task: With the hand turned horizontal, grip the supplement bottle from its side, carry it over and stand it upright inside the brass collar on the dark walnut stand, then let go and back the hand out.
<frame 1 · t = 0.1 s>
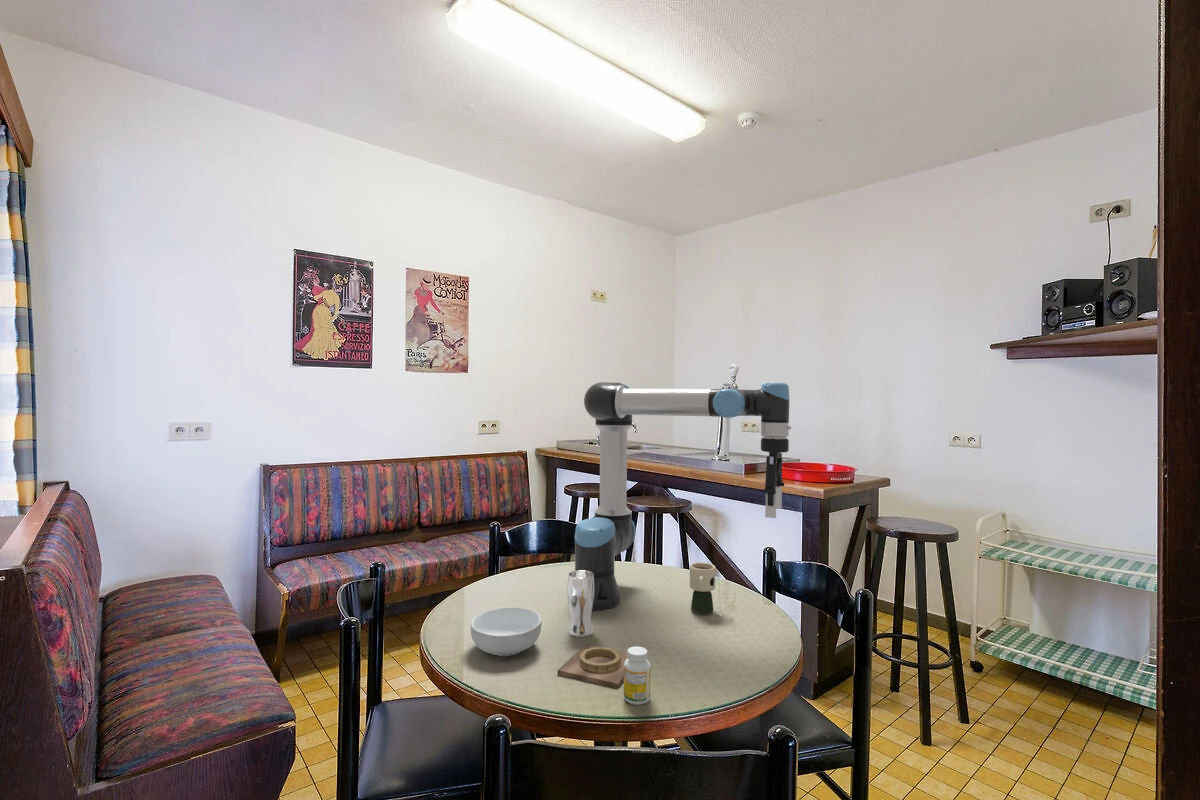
hand: (773, 513, 161), 28 cm above the table, tool pointing down, fingers open, 13 cm apart
collar stand: (600, 667, 127), on the table
silver metal tumbler: (580, 633, 146), on the table
supplement bottle: (636, 699, 114), on the table
cereal bowl: (506, 650, 136), on the table
character mug: (702, 612, 161), on the table
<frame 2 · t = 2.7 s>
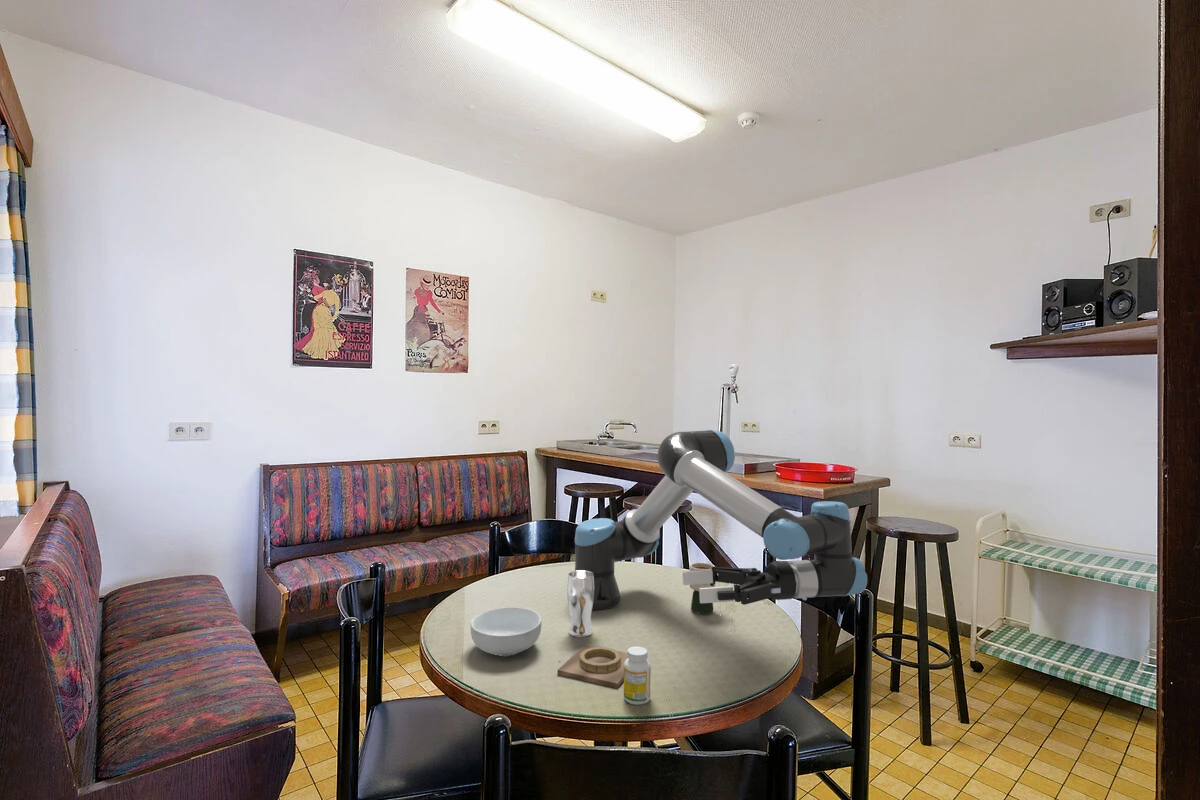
hand: (690, 586, 118), 21 cm above the table, tool horizontal, fingers open, 13 cm apart
nothing on the table moved.
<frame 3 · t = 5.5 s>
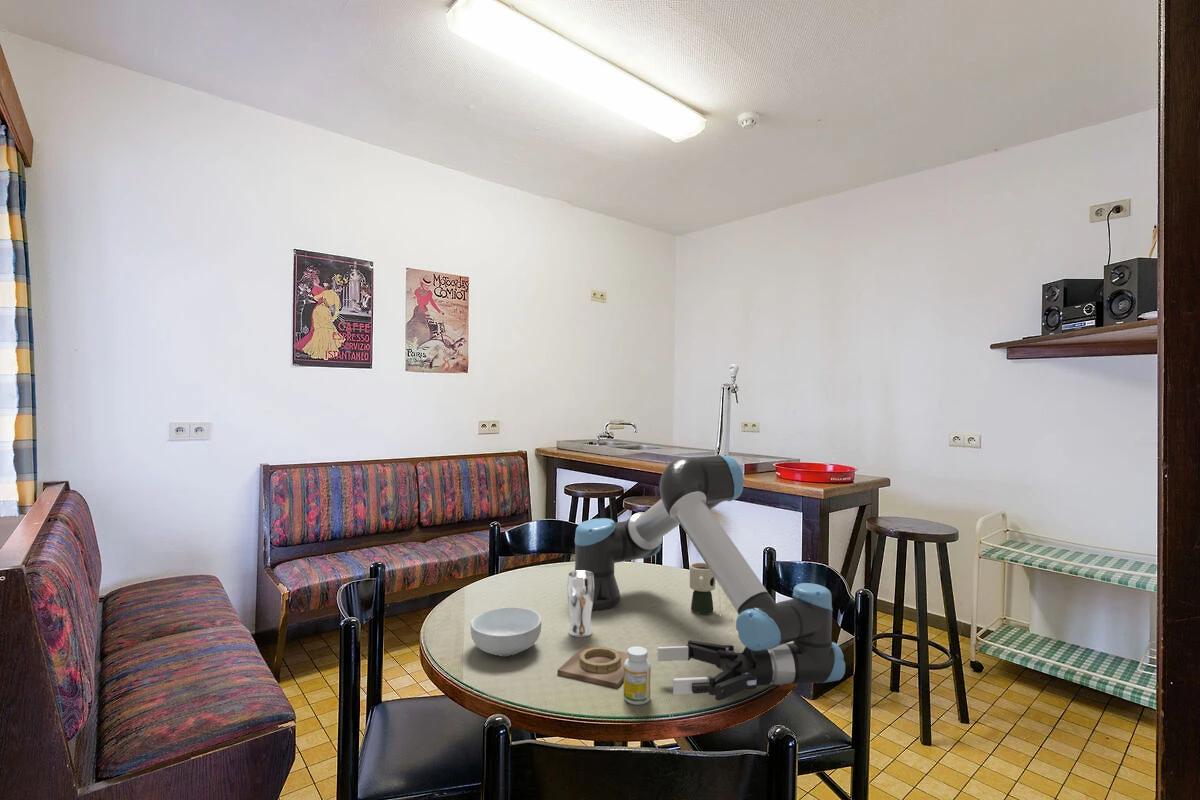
hand: (665, 669, 114), 6 cm above the table, tool horizontal, fingers open, 13 cm apart
nothing on the table moved.
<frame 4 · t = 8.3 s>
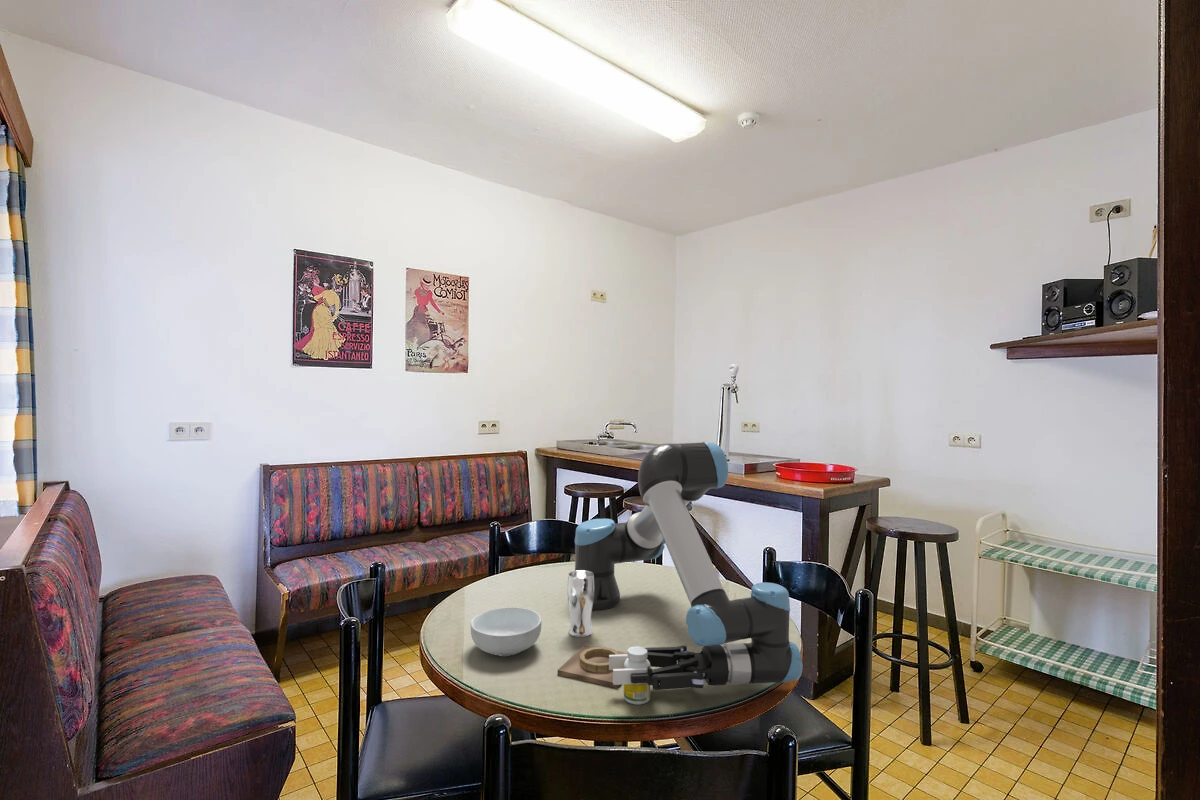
hand: (611, 669, 114), 6 cm above the table, tool horizontal, fingers closed on supplement bottle, 5 cm apart
supplement bottle: (636, 699, 114), on the table, touching gripper
everything else where it was.
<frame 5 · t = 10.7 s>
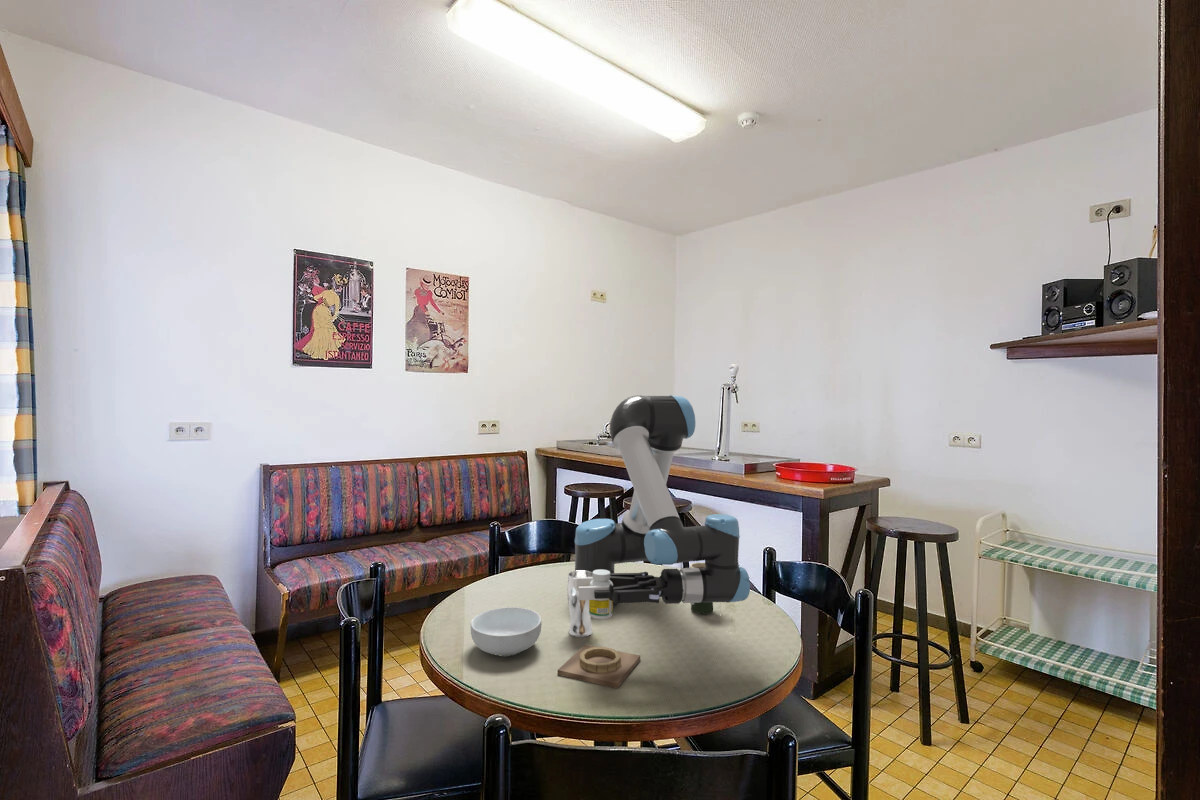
hand: (577, 588, 127), 18 cm above the table, tool horizontal, fingers closed on supplement bottle, 5 cm apart
supplement bottle: (600, 615, 127), point 11 cm above the table, touching gripper
everything else where it was.
when the fingers open (8 cm above the table, at t = 13.3 s): supplement bottle stays where it is, resting on collar stand.
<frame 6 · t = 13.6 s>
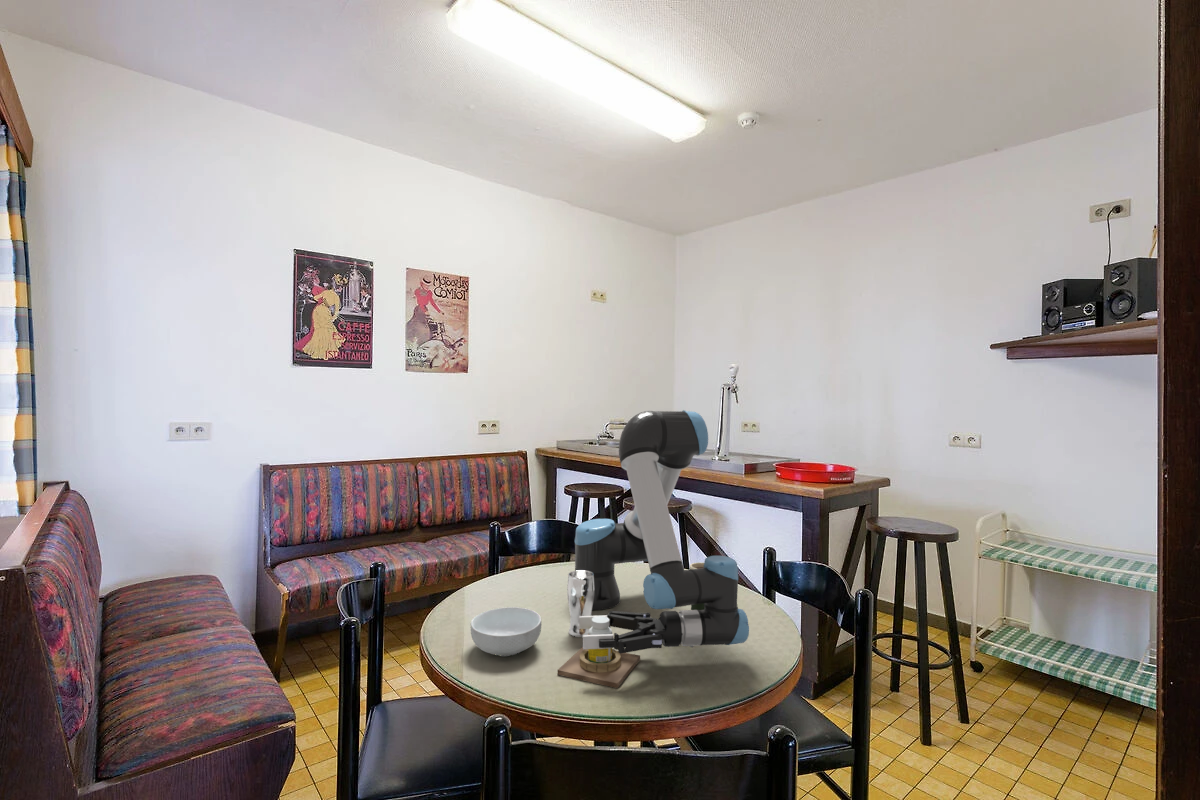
hand: (581, 632, 127), 8 cm above the table, tool horizontal, fingers open, 10 cm apart
supplement bottle: (600, 663, 127), point 1 cm above the table, touching collar stand
everything else where it was.
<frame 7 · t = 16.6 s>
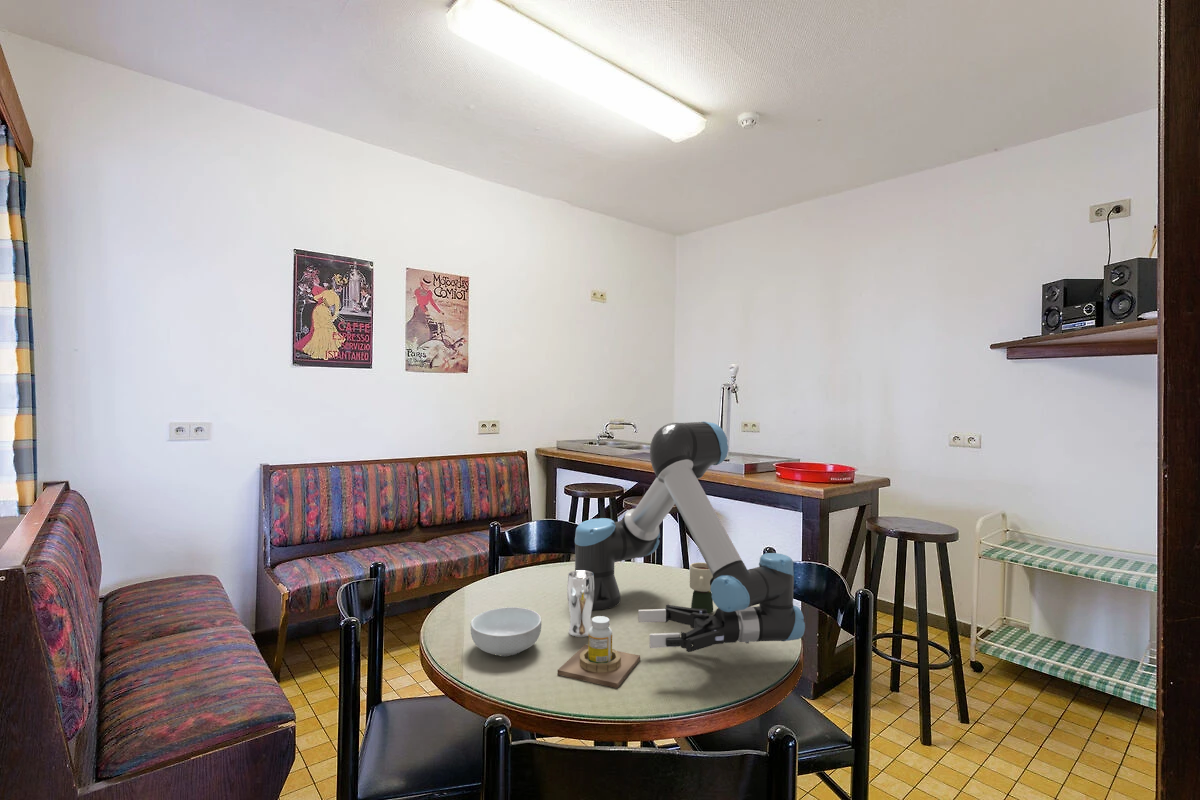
hand: (643, 627, 128), 8 cm above the table, tool horizontal, fingers open, 13 cm apart
nothing on the table moved.
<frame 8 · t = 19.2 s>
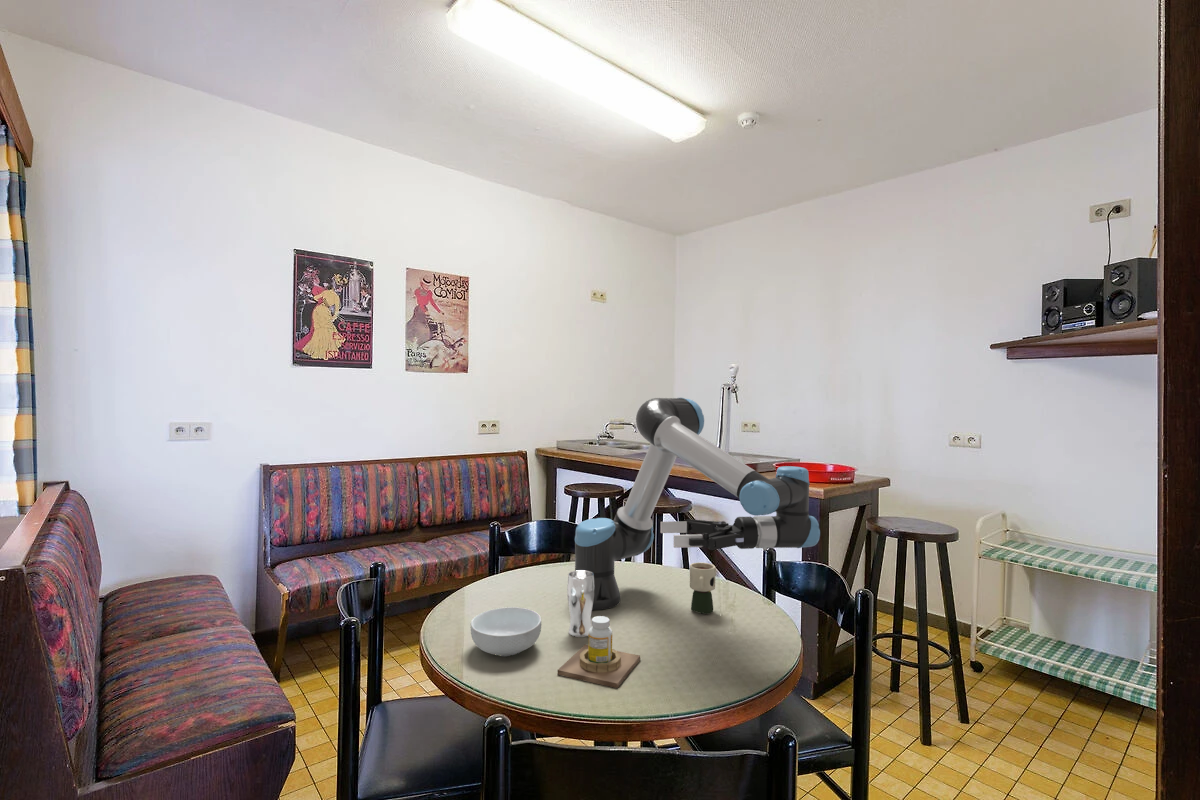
hand: (666, 534, 135), 28 cm above the table, tool horizontal, fingers open, 13 cm apart
nothing on the table moved.
at the end: supplement bottle 0.1 cm off-centre on the collar stand, point 0.8 cm above the collar stand's base; supplement bottle tilted 0°; the gripper is holding nothing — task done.
